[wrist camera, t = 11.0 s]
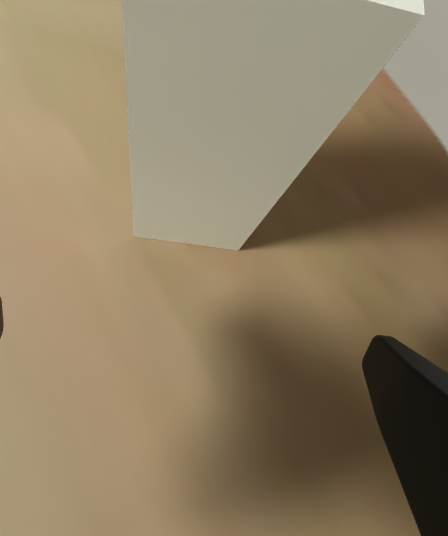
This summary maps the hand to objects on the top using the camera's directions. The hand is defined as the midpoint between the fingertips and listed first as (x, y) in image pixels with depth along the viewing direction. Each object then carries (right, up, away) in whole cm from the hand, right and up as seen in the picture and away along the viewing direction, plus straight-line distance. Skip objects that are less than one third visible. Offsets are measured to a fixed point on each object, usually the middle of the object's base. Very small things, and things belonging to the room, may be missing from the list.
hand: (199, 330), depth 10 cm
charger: (-1, +4, +8) cm, 9 cm away
